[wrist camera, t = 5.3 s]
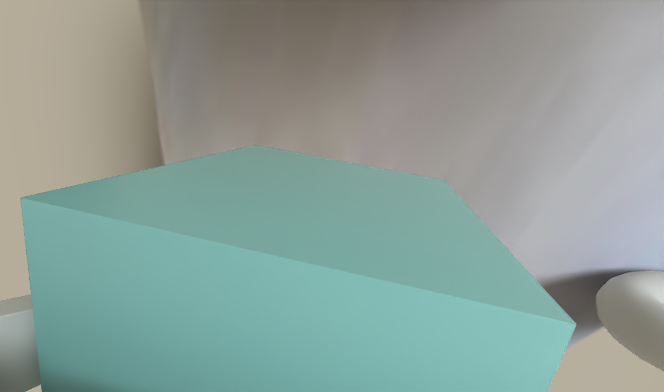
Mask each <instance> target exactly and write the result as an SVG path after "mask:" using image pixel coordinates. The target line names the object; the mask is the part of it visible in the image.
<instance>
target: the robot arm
mask: <svg viewBox="0 0 664 392" xmlns="http://www.w3.org/2000/svg"><path fill="white" fill-rule="evenodd" d="M40 384H41V379H40V370H39V361H38V352H37V343H36V334H35V325H34V316H33V307H32V298H31V295H27V296H22V297H17V298H12V299H8V300H2V301H0V392H25V391H27V390H29V389H32V388H34V387H36V386H38V385H40Z"/></svg>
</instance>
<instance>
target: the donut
mask: <svg viewBox="0 0 664 392" xmlns="http://www.w3.org/2000/svg"><path fill="white" fill-rule="evenodd" d="M596 306H597V314H598V317H599V319H600V321H601V323H602V324H603V325H604V327H605V328H606V329H607V330H608V332H609V333H610V334H611V335H612V336H613V338H615V339H616V340H617V341H618V342H619V343H620V344H622V345H623V346H624V347H626V348H627V349H628V350H630V351H631V352H632V353H634V354H635V355H636V356H638V357H639V358H640V359H642V360H644V361H646V362H648V363H650V364H652V365H654V366H655V367H657V368H659V369H661V370H663V371H664V271H657V270H653V271H637V272H629V273H625V274H622V275H619V276H616V277H613V278H611V279H609V280H608V281H607V282H606V283H605V284H604V285H603V286H602V287H601V288H600V289H599V290H598V292H597V295H596Z"/></svg>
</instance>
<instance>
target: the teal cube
mask: <svg viewBox="0 0 664 392" xmlns="http://www.w3.org/2000/svg"><path fill="white" fill-rule="evenodd" d="M20 199H21V208H22V216H23V225H24V235H25V243H26V253H27V262H28V270H29V280H30V289H31V298H32V307H33V316H34V325H35V334H36V343H37V352H38V361H39V370H40V379H41V388H42V392H547V391H548V389H549V387H550V384H551V382H552V380H553V378H554V375H555V373H556V370H557V368H558V366H559V364H560V361H561V359H562V357H563V355H564V352H565V350H566V348H567V345H568V343H569V341H570V338H571V336H572V334H573V332H574V329H575V327H576V325H577V324H576V323H575V322H574V321H573V320H572V319H571V318H570V317H569V315H568V314H567V313H566V312H565V311H564V310H563V309H562V308H561V307H560V306H559V305H558V303H557V302H556V301H555V300H554V299H553V298H552V297H551V296H550V295H549V294H548V293H547V292H546V290H545V289H544V288H543V287H542V286H541V285H540V284H539V283H538V282H537V281H536V280H535V278H534V277H533V276H532V275H531V274H530V273H529V272H528V271H527V270H526V269H525V268H524V266H523V265H522V264H521V263H520V262H519V261H518V260H517V259H516V258H515V257H514V256H513V254H512V253H511V252H510V251H509V250H508V249H507V248H506V247H505V246H504V245H503V244H502V242H501V241H500V240H499V239H498V238H497V237H496V236H495V235H494V234H493V233H492V232H491V230H490V229H489V228H488V227H487V226H486V225H485V224H484V223H483V222H482V221H481V220H480V218H479V217H478V216H477V215H476V214H475V213H474V212H473V211H472V210H471V209H470V208H469V206H468V205H467V204H466V203H465V202H464V201H463V200H462V199H461V198H460V197H459V196H458V194H457V193H456V192H455V191H454V190H453V189H452V188H451V187H450V186H449V185H448V184H447V182H446V181H445V180H440V179H435V178H429V177H424V176H419V175H413V174H408V173H403V172H397V171H392V170H386V169H381V168H376V167H370V166H365V165H360V164H354V163H349V162H344V161H338V160H333V159H327V158H322V157H317V156H311V155H306V154H301V153H295V152H290V151H285V150H279V149H274V148H268V147H263V146H258V145H254V146H249V147H245V148H240V149H236V150H231V151H227V152H223V153H218V154H214V155H209V156H205V157H200V158H196V159H191V160H187V161H182V162H178V163H173V164H169V165H164V166H160V167H156V168H151V169H146V170H142V171H138V172H133V173H129V174H125V175H120V176H115V177H111V178H106V179H102V180H97V181H93V182H88V183H84V184H80V185H75V186H71V187H66V188H61V189H57V190H53V191H48V192H44V193H39V194H35V195H30V196H26V197H21V198H20Z"/></svg>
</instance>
